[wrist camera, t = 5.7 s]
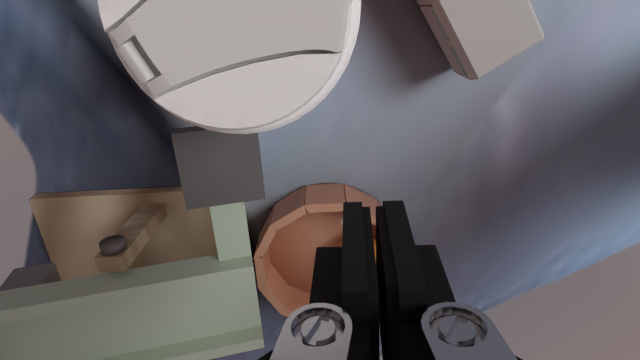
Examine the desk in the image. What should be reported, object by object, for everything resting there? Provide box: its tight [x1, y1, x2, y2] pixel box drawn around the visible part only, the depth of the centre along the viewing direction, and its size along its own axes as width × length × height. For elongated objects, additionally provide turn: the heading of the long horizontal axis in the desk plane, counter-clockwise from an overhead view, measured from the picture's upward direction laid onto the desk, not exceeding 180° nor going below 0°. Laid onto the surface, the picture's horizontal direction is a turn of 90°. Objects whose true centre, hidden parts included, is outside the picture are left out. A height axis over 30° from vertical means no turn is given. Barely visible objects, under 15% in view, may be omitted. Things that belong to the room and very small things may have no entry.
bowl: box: [254, 183, 381, 317], centre depth 31 cm, size 10×10×4 cm
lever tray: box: [0, 126, 265, 360], centre depth 25 cm, size 17×15×6 cm
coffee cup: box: [97, 0, 361, 134], centre depth 19 cm, size 8×8×15 cm
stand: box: [28, 186, 218, 281], centre depth 29 cm, size 15×11×8 cm
